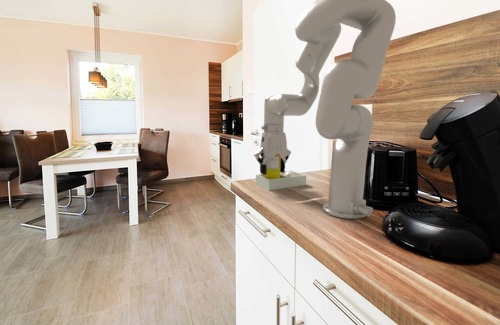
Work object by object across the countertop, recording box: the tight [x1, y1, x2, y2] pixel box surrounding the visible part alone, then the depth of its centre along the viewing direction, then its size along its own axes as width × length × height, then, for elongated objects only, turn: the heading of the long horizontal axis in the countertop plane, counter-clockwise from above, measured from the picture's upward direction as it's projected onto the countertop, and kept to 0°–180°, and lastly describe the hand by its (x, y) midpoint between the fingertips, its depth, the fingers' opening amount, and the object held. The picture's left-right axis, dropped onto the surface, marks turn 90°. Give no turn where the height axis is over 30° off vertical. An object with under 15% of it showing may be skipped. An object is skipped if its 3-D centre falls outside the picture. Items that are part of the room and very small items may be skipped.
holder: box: [255, 170, 307, 191], centre depth 107 cm, size 10×18×5 cm, turn 119°
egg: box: [284, 170, 295, 177], centre depth 109 cm, size 5×5×5 cm
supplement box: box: [265, 154, 281, 179], centre depth 104 cm, size 6×6×11 cm
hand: (272, 172), depth 104 cm, fingers closed on supplement box, 8 cm apart
